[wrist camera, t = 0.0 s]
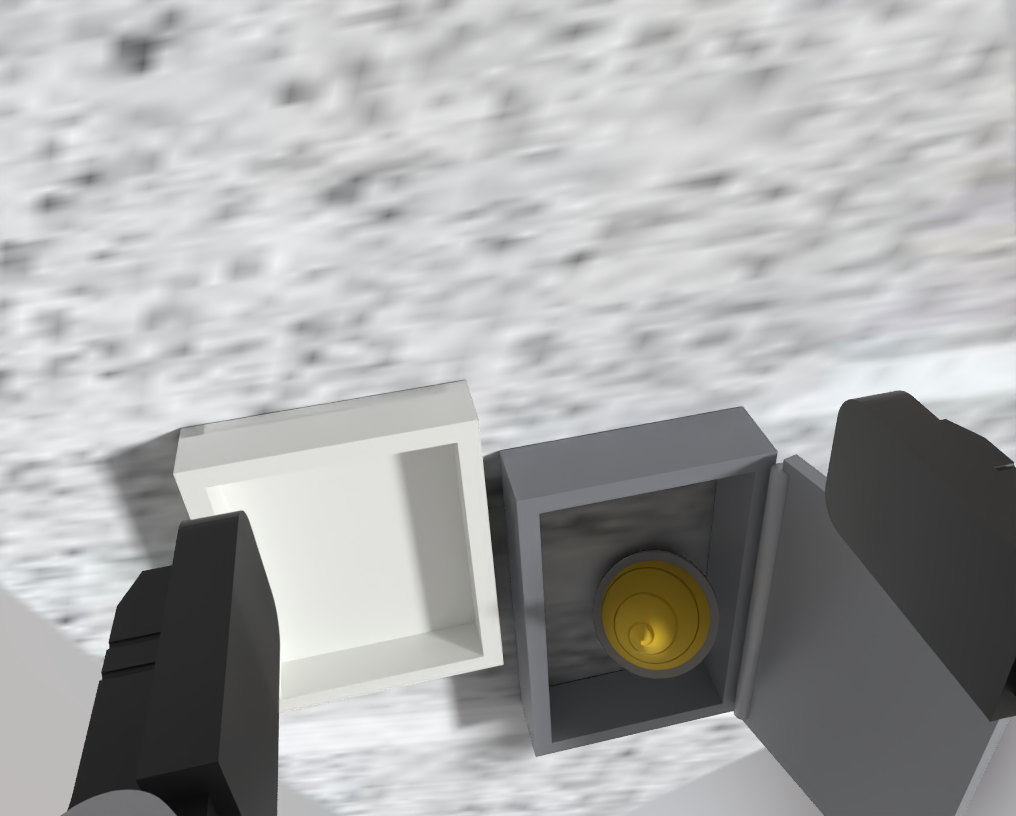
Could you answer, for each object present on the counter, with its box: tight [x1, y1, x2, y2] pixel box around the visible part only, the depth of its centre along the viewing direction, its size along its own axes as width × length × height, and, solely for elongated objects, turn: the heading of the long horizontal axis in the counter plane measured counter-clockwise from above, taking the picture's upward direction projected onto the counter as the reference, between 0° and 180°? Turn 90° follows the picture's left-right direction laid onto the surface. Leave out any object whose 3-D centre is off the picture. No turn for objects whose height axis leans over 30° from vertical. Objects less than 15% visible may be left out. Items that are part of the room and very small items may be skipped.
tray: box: [173, 380, 504, 713], centre depth 33 cm, size 13×10×2 cm
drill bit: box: [593, 550, 719, 679], centre depth 35 cm, size 5×5×10 cm
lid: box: [734, 454, 1010, 816], centre depth 32 cm, size 16×10×1 cm
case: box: [500, 407, 778, 757], centre depth 37 cm, size 16×10×3 cm, turn 3°
